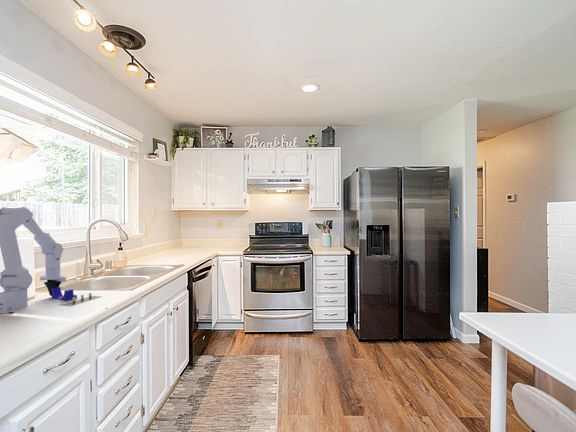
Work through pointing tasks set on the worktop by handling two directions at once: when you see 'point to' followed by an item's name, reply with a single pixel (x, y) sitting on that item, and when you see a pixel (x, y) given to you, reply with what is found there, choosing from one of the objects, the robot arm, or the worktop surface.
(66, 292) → the cable clip
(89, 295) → the header pins
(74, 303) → the header plate
